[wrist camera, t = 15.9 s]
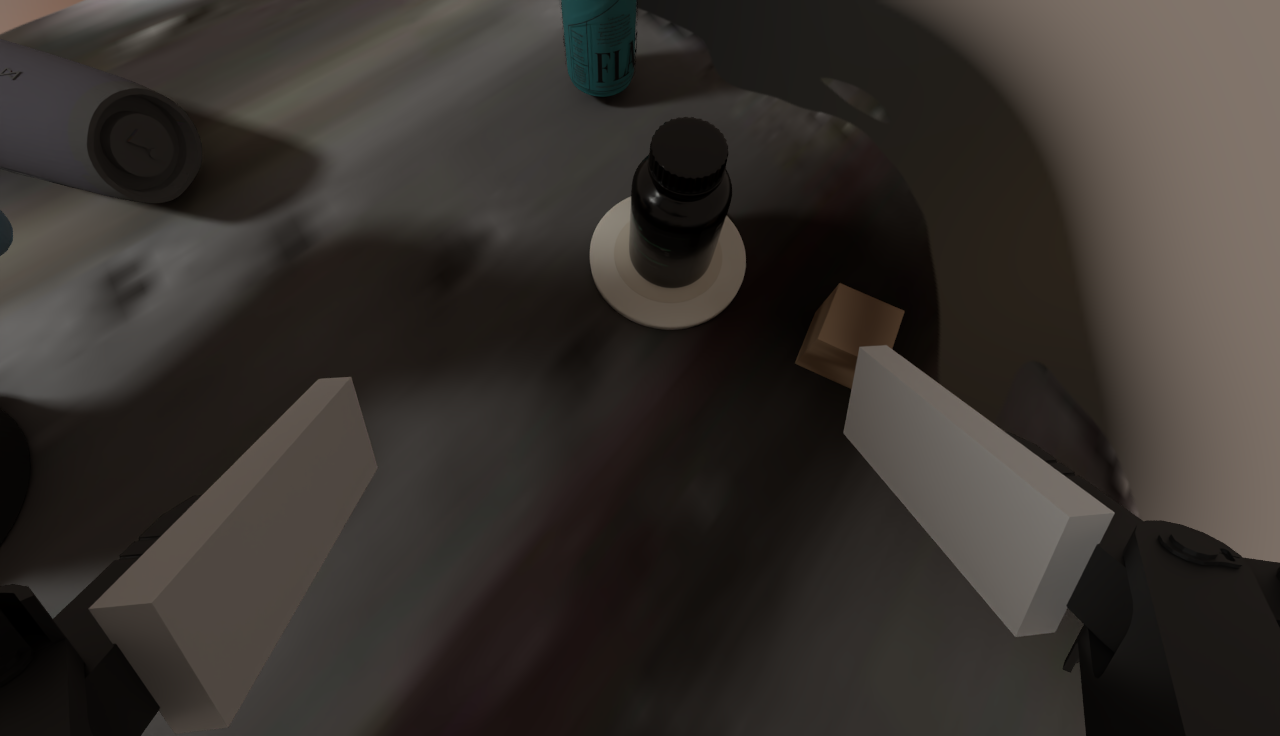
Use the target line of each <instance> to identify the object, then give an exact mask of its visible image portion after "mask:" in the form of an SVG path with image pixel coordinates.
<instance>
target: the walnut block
mask: <svg viewBox="0 0 1280 736" xmlns="http://www.w3.org/2000/svg"><path fill="white" fill-rule="evenodd" d="M904 312H905V311H903V310H901V309H899V308H896V307H894V306H892V305H889V304H887V303H885V302H882V301H880V300H878V299H876V298H873V297H871V296H869V295H866V294H864V293H862V292H859V291H857V290H855V289H852V288H850V287H848V286H845V285H843V284H841V283H839V285H838V286H837V287H836V288H835V289H834V291H833V292H832V293H831V294H830V295H829V297H828V298H827V299H826V300H825V301H824V303H823V304H822V305H821V306H820V307H819V309H818V310H817V311H816V312H815V314H814V317H813V319H812V322H811V324H810V327H809V329H808V332H807V334H806V337H805V339H804V342H803V344H802V347H801V349H800V351H799V354H798V356H797V359H796V361H795V364H797V365H799V366H802V367H804V368H806V369H808V370H810V371H813V372H815V373H817V374H819V375H821V376H824V377H826V378H828V379H830V380H833V381H835V382H837V383H839V384H841V385H844V386H846V387H848V388H850V389H852V384H853V379H854V374H855V368H856V363H857V358H858V352H859V347H865V346H882V345H887V346H888V347H890V348H891V349H892V348H893V345H894V342H895V339H896V336H897V333H898V330H899V327H900V324H901V321H902V318H903V315H904Z"/></svg>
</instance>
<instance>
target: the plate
mask: <svg viewBox="0 0 1280 736" xmlns="http://www.w3.org/2000/svg"><path fill="white" fill-rule="evenodd" d="M630 212H631V197H629V198H627V199H625V200H623V201H621V202H620V203H618V204H617V205H615V206H614V207H613V208H612V209H610V210H609V211H608V212H607V213H606V214H605V216H604V217H603V218H602V219H601V221H600V222H599V224H598V225H597V227H596V229H595V231H594V234H593V237H592V240H591V245H590V267H591V272H592V276H593V279H594V282H595V285H596V287H597V289H598V291H599V292H600V294H601V295H602V297H603V298H604V300H605V301H606V302H607V303H608V304H609V305H610V306H611V307H612V308H613V309H614V310H615V311H617V312H618V313H619V314H621V315H622V316H624V317H625V318H627V319H629V320H631V321H633V322H635V323H637V324H640V325H643V326H646V327H650V328H655V329H662V330H680V329H686V328H691V327H694V326H698V325H700V324H703V323H705V322H708V321H709V320H711V319H713V318H714V317H716V316H717V315H719V314H720V313H721V312H722V311H724V310H725V309H726V307H727V306H728V305H729V304H730V303H731V302H732V300H733V299H734V297H735V296H736V294H737V292H738V290H739V288H740V286H741V284H742V281H743V278H744V274H745V268H746V254H745V248H744V244H743V241H742V238H741V236H740V234H739V232H738V230H737V228H736V227H735V225H734V224H733V223H732V221H731V220H730V219H729V218H728V216H726V218H725V221H724V224H723V227H722V230H721V233H720V236H719V239H718V242H717V245H716V248H715V251H714V255H713V257H712V260H711V263H710V265H709V267H708V269H707V271H706V272H705V274H704V275H703V276H702V277H701V278H700V279H698V280H697V281H696V282H694V283H692V284H690V285H688V286H685V287H680V288H664V287H660V286H657V285H654V284H652V283H650V282H648V281H647V280H645V279H644V278H643V277H641V276H640V275H639V274H638V272H637V271H636V270H635V268H634V266H633V264H632V262H631V259H630V254H629V233H630Z"/></svg>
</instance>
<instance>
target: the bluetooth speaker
mask: <svg viewBox="0 0 1280 736" xmlns="http://www.w3.org/2000/svg"><path fill="white" fill-rule="evenodd" d="M201 162H202V146H201V141H200V137H199V135H198V132H197V129H196V127H195V125H194V124H193V122H192V120H191V119H190V117H189V116H188V115H187V113H186V112H185V111H184V110H183V109H182V108H181V107H179V106H178V105H177V104H176V103H174V102H173V101H171V100H170V99H168V98H167V97H165V96H163V95H161V94H159V93H157V92H155V91H153V90H151V89H149V88H146V87H144V86H142V85H140V84H137V83H135V82H132V81H130V80H127V79H125V78H122V77H119V76H116V75H113V74H110V73H107V72H104V71H101V70H98V69H95V68H92V67H89V66H86V65H83V64H80V63H77V62H74V61H71V60H68V59H65V58H62V57H59V56H56V55H52V54H49V53H46V52H43V51H39V50H36V49H33V48H29V47H26V46H22V45H19V44H16V43H12V42H9V41H6V40H2V39H0V169H3V170H6V171H10V172H13V173H17V174H21V175H25V176H29V177H33V178H38V179H42V180H45V181H49V182H53V183H57V184H61V185H65V186H68V187H73V188H78V189H82V190H86V191H90V192H94V193H98V194H102V195H106V196H110V197H114V198H120V199H125V200H131V201H137V202H144V203H163V202H167V201H171V200H173V199H175V198H177V197H179V196H180V195H181V194H182V193H183V192H184V191H185V190H186V189H187V188H188V187H189V185H190V184H191V183H192V181H193V180H194V178H195V177H196V175H197V173H198V172H199V169H200V167H201Z"/></svg>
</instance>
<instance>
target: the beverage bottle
mask: <svg viewBox="0 0 1280 736" xmlns="http://www.w3.org/2000/svg"><path fill="white" fill-rule="evenodd" d="M636 1H637V0H562V2H561V4H562V6H561V7H562V16H563V18H562V17H561V20H562V19H563V21H562V23H563V26H564V35H565V36H563V37H565V41H564V42H565V45H564V46H566V49H565V50H566V54H565V55H566V56H567V58H566V59H567V67H568V73H569V76H570V78H571V80H572V82H573V84H574V85H575V86H576V87H577V88H578V89H579V90H581V91H583V92H584V93H587V94H589V95H593V96H600V97H605V96H612V95H615V94H617V93H620V92H621V91H623V90H624V89H625V88H626V87H627V86H628V85H629V83H630V82H631V79H632V76H634V75H633V73H634V70H636V69H635V68H634V65H635V64H636V63H635V64H634V60H635V59H636V57H635V59H634V55H635V53H636V50H635V40H636V41H637V33H636V38H635V24H636V23H637V22H636V16H638V15H636V12H637V10H638V9H637V10H636V6H637V5H636ZM637 21H638V19H637ZM564 42H563V43H564ZM636 47H637V42H636ZM634 52H635V53H634ZM635 62H636V61H635ZM565 64H566V63H565Z"/></svg>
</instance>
